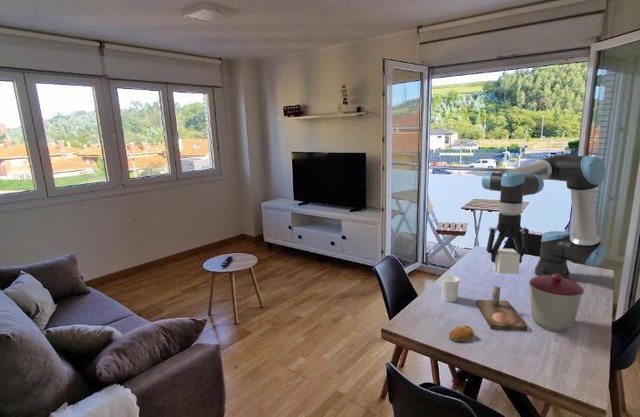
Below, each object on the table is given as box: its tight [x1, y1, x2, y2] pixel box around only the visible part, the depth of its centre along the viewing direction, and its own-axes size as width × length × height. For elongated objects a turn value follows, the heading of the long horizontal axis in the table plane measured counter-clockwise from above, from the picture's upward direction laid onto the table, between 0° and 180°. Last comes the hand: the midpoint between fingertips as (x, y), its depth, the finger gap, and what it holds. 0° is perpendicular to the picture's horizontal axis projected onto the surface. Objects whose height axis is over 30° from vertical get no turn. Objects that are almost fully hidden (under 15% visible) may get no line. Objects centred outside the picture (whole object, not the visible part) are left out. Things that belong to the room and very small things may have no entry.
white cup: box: [440, 274, 460, 303], centre depth 164 cm, size 8×8×10 cm
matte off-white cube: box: [496, 248, 520, 275], centre depth 139 cm, size 7×7×8 cm
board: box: [475, 285, 528, 332], centre depth 147 cm, size 13×21×10 cm, turn 172°
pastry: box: [448, 324, 476, 342], centre depth 135 cm, size 9×7×4 cm
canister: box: [528, 274, 586, 332], centre depth 139 cm, size 18×18×21 cm
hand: (505, 270), depth 140 cm, fingers closed on matte off-white cube, 7 cm apart
